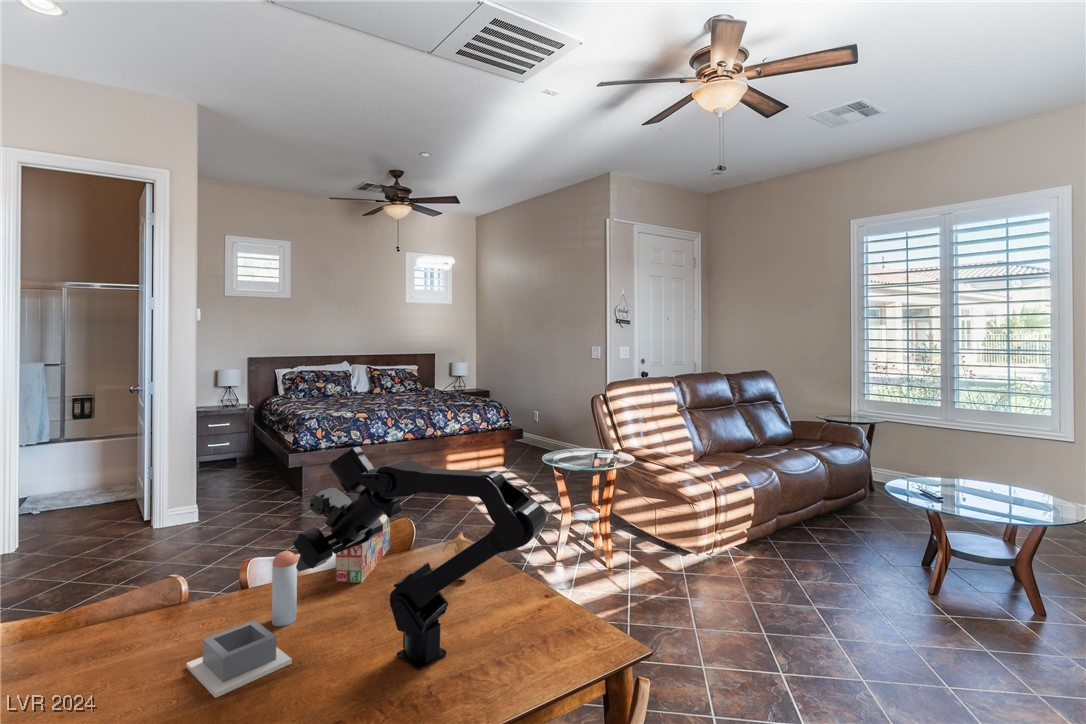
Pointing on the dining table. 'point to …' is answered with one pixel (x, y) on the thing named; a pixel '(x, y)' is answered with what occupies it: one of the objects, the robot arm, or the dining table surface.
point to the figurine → (459, 548)
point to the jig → (237, 658)
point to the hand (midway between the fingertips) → (316, 560)
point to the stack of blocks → (363, 556)
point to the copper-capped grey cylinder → (284, 589)
